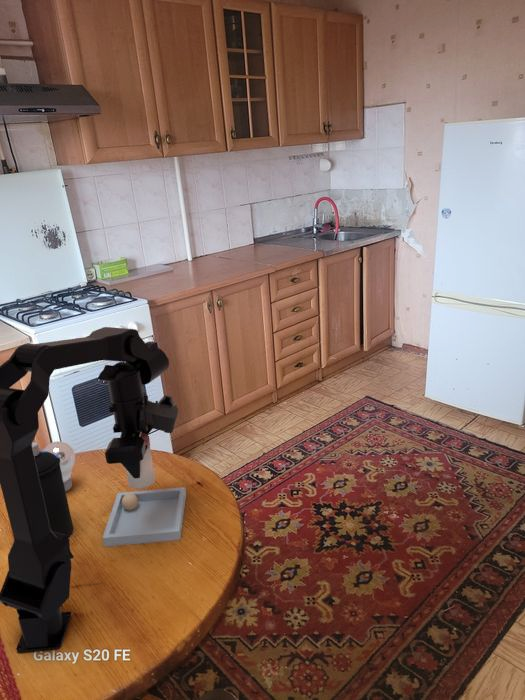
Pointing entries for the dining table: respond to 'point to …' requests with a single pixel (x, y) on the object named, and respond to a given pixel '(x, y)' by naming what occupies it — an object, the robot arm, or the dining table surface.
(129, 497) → the cork ball
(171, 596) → the dining table surface
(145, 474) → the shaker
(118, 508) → the dish
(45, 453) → the aerosol can
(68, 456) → the light bulb
